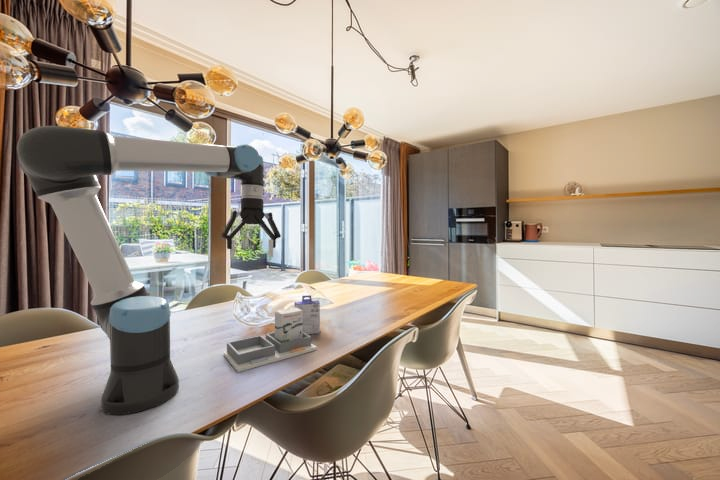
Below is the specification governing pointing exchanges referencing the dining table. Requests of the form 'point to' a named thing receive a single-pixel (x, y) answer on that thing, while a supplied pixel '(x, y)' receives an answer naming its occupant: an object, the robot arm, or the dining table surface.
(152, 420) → the dining table surface
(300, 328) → the ink box
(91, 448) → the dining table surface
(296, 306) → the ink cartridge box
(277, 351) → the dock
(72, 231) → the robot arm
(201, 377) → the dining table surface
